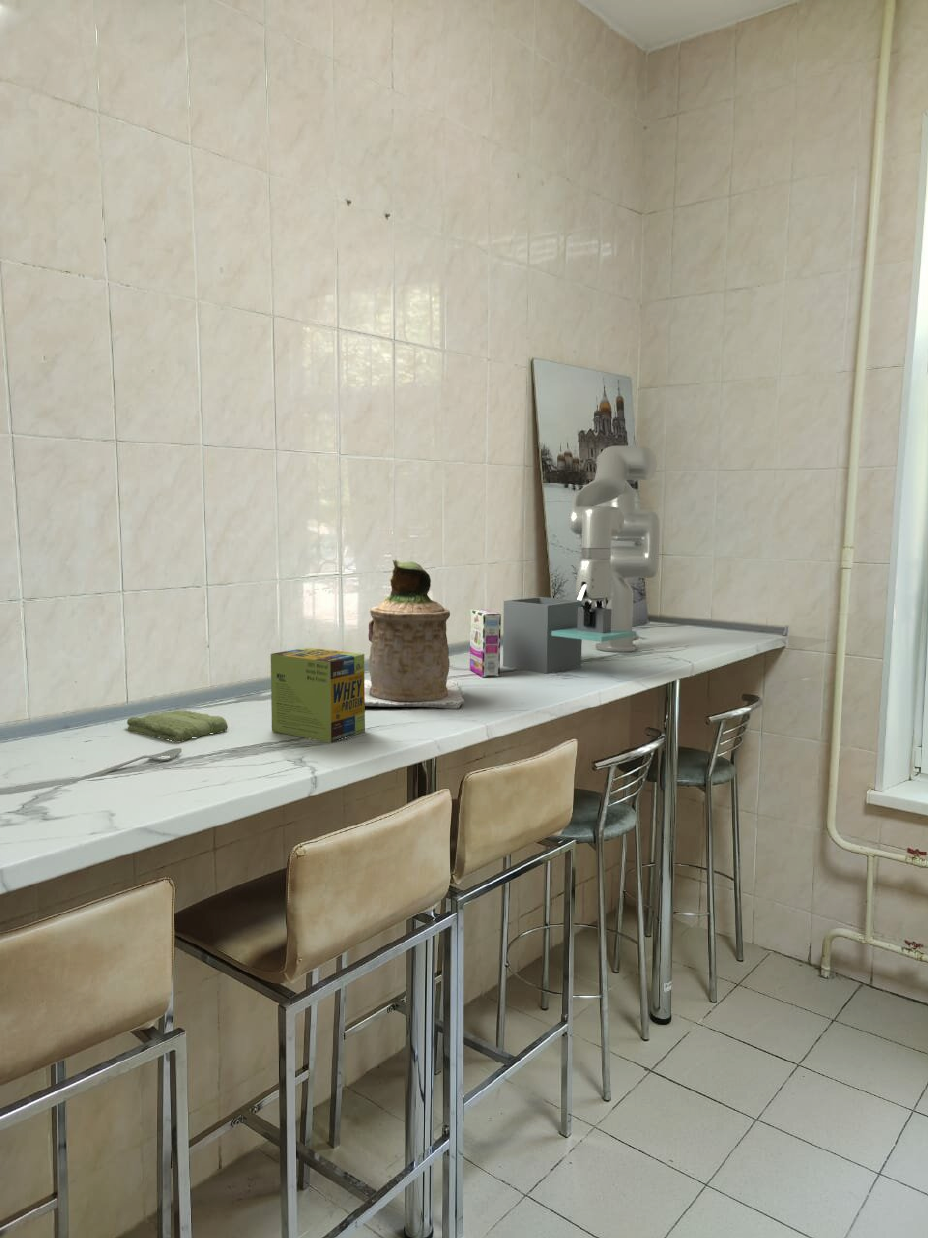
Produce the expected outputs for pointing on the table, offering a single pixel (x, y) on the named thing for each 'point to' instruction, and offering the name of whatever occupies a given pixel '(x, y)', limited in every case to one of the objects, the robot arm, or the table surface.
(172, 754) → the spoon
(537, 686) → the table surface
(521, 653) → the bin
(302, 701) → the protein box
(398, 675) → the cookie jar
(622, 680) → the table surface
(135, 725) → the washcloth
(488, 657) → the candy bar box
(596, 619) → the lid
